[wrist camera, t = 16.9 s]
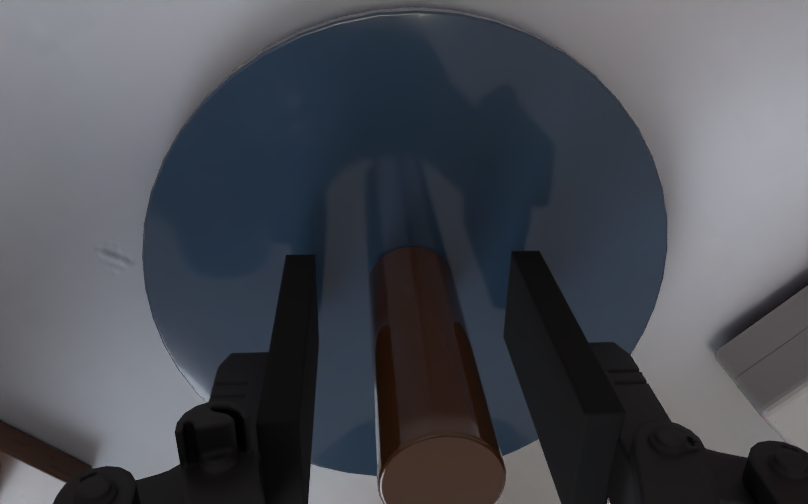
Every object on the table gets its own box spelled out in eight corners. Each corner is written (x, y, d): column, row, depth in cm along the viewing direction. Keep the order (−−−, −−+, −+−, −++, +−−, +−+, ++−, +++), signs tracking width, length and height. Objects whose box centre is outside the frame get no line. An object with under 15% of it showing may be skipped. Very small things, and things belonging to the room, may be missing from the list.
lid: (186, 458, 23) (105, 737, 16) (111, 0, 17) (-93, 90, 9) (611, 444, 24) (732, 697, 17) (698, 5, 18) (966, 90, 10)
